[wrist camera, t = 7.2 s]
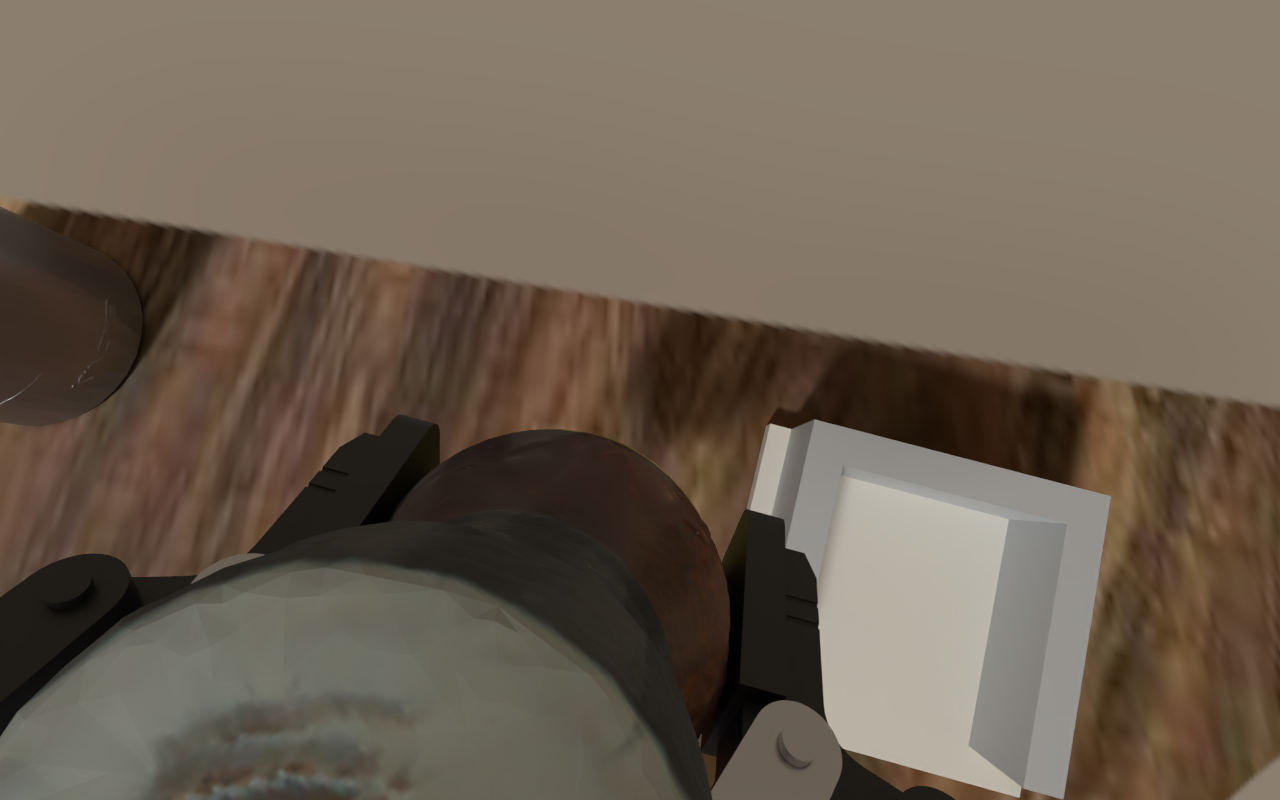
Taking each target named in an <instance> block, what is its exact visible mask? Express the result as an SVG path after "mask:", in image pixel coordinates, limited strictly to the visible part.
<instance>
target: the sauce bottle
mask: <svg viewBox="0 0 1280 800" xmlns="http://www.w3.org/2000/svg"><path fill="white" fill-rule="evenodd" d="M730 631H731V627H730V601H729V594H728V589H727V581H726V578H725V574H724V571H723V567H722V563H721V560H720V557H719V555H718V552H717V549H716V546H715V544H714V542H713V540H712V539H711V535H710V532H709V529H708V527H707V525H706V524H705V523H704V522H703V521H702V519H701V517H700V515H699V514H698V512H697V510H696V508H695V506H694V505H693V503H692V502H691V501H690V499H689V498H688V497H687V495H686V494H685V493H684V491H683V490H682V489H681V487H680V486H679V485H678V484H677V483H676V482H675V481H674V480H673V479H672V478H671V477H670V476H669V475H668V474H667V473H666V472H665V471H664V470H662V469H661V468H660V467H659V466H658V465H656V464H655V463H654V462H653V461H651V460H650V459H648V458H647V457H645V456H644V455H642V454H641V453H639V452H637V451H636V450H634V449H632V448H630V447H628V446H626V445H624V444H622V443H619V442H617V441H614V440H612V439H609V438H607V437H603V436H599V435H595V434H591V433H586V432H580V431H574V430H562V429H542V430H529V431H521V432H514V433H510V434H506V435H502V436H498V437H495V438H491V439H488V440H485V441H483V442H481V443H478V444H476V445H473V446H471V447H469V448H466V449H464V450H462V451H460V452H459V453H457V454H455V455H454V456H452V457H450V458H449V459H447V460H446V461H444V462H442V463H441V464H439V465H438V466H437V467H436V468H434V469H433V470H432V471H430V472H429V473H428V474H427V475H426V476H425V477H423V478H422V479H421V480H420V481H419V482H418V483H417V484H416V485H415V486H414V487H413V488H412V489H411V490H410V491H409V493H408V494H407V495H406V496H405V497H404V498H403V499H402V500H401V501H400V503H399V504H398V505H397V506H396V508H395V510H394V511H393V513H392V514H391V516H390V518H389V519H388V521H387V522H384V523H377V524H371V525H364V526H357V527H350V528H344V529H340V530H336V531H332V532H328V533H324V534H320V535H316V536H312V537H310V538H307V539H304V540H301V541H298V542H296V543H293V544H290V545H288V546H286V547H284V548H282V549H280V550H278V551H276V552H273V553H270V554H266V555H263V556H260V557H257V558H253V559H250V560H247V561H244V562H241V563H237V564H234V565H231V566H228V567H224V568H222V569H220V570H218V571H216V572H214V573H212V574H210V575H208V576H206V577H204V578H202V579H200V580H198V581H196V582H194V583H192V584H190V585H188V586H186V587H184V588H182V589H180V590H178V591H176V592H174V593H172V594H170V595H168V596H166V597H164V598H162V599H159V600H157V601H155V602H153V603H150V604H148V605H146V606H144V607H141V608H140V609H138V610H136V611H134V612H132V613H130V614H128V615H127V616H125V617H124V618H122V619H121V620H120V621H119V622H118V623H116V624H115V625H114V626H113V627H112V628H110V629H109V630H108V631H107V632H105V633H104V634H103V635H102V636H101V637H99V638H98V639H97V640H96V641H95V642H93V643H92V644H91V645H90V646H89V647H87V648H86V649H85V650H84V651H83V652H81V653H80V654H79V655H78V656H77V657H75V658H74V659H73V660H72V661H71V662H69V663H68V664H67V665H66V666H65V667H63V668H62V669H61V670H60V671H59V672H58V673H57V674H56V675H55V676H54V677H53V678H52V679H51V680H50V681H49V682H48V683H47V684H46V685H45V686H44V687H43V688H41V689H40V690H39V691H38V692H37V693H36V694H35V695H34V696H33V697H32V698H31V699H30V700H29V701H28V702H27V703H26V704H25V705H24V706H23V707H22V708H21V709H20V710H19V711H18V712H17V713H16V714H15V716H14V717H13V719H12V720H11V722H10V723H9V725H8V726H7V728H6V729H5V730H4V732H3V733H2V735H1V736H0V800H712V794H711V789H710V786H709V783H708V775H707V772H706V768H705V764H704V761H703V757H702V754H701V750H700V746H699V743H698V738H699V736H700V734H701V733H702V732H703V729H704V728H705V726H706V724H707V723H708V721H709V720H710V719H711V718H712V716H713V714H714V711H715V708H716V705H717V703H718V700H719V698H720V696H721V693H722V691H723V689H724V687H725V685H726V682H727V661H728V656H729V633H730Z"/></svg>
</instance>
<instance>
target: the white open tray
mask: <svg viewBox="0 0 1280 800" xmlns="http://www.w3.org/2000/svg"><path fill="white" fill-rule="evenodd" d="M1110 499H1111V496H1108V495H1104V494H1100V493H1096V492H1092V491H1088V490H1085V489H1081V488H1077V487H1073V486H1069V485H1065V484H1061V483H1058V482H1054V481H1050V480H1046V479H1042V478H1038V477H1034V476H1031V475H1027V474H1023V473H1019V472H1015V471H1011V470H1008V469H1004V468H1000V467H996V466H992V465H988V464H984V463H981V462H977V461H973V460H969V459H965V458H961V457H957V456H954V455H950V454H946V453H942V452H938V451H934V450H930V449H927V448H923V447H919V446H915V445H911V444H907V443H903V442H900V441H896V440H892V439H888V438H884V437H880V436H877V435H873V434H869V433H865V432H861V431H857V430H853V429H850V428H846V427H842V426H838V425H834V424H830V423H826V422H823V421H819V420H815V419H814V420H812V421H810V422H807V423H805V424H802V425H800V426H798V427H795V428H793V429H789V428H785V427H781V426H778V425H774V424H769V425H767V426H766V429H765V433H764V437H763V441H762V446H761V450H760V454H759V458H758V462H757V467H756V471H755V475H754V479H753V484H752V488H751V492H750V496H749V500H748V505H747V509H748V510H752V511H756V512H759V513H763V514H767V515H771V516H774V517H778V518H782V519H783V520H784V522H785V548H787V549H791V550H795V551H798V552H802V553H805V555H806V557H807V559H808V561H809V563H810V566H811V568H812V570H813V572H814V574H815V576H816V578H817V595H818V604H817V608H818V612H819V626H818V629H819V630H820V647H821V664H822V681H823V699H824V710H825V715H826V719H827V722H828V724H829V726H830V728H831V729H832V730H833V732H834V734H835V736H836V738H837V740H838V743H839V744H840V746H841V747H842V748H843V749H846V750H850V751H853V752H857V753H861V754H864V755H868V756H871V757H875V758H879V759H882V760H886V761H889V762H893V763H896V764H900V765H904V766H907V767H911V768H914V769H918V770H922V771H925V772H929V773H932V774H936V775H940V776H943V777H947V778H950V779H954V780H957V781H961V782H965V783H968V784H972V785H975V786H979V787H983V788H986V789H990V790H993V791H997V792H1001V793H1004V794H1008V795H1011V796H1015V797H1018V798H1019V797H1020V791H1021V787H1022V788H1024V789H1027V790H1031V791H1034V792H1038V793H1042V794H1045V795H1049V796H1052V797H1056V798H1060V799H1063V798H1064V792H1065V786H1066V779H1067V773H1068V766H1069V760H1070V754H1071V747H1072V741H1073V735H1074V728H1075V722H1076V715H1077V709H1078V703H1079V696H1080V690H1081V684H1082V677H1083V671H1084V665H1085V658H1086V652H1087V645H1088V639H1089V633H1090V626H1091V620H1092V614H1093V607H1094V601H1095V594H1096V588H1097V582H1098V575H1099V569H1100V563H1101V556H1102V550H1103V543H1104V537H1105V531H1106V524H1107V518H1108V512H1109V505H1110Z"/></svg>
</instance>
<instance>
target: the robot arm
mask: <svg viewBox="0 0 1280 800" xmlns="http://www.w3.org/2000/svg"><path fill="white" fill-rule="evenodd" d="M142 322H143V316H142V310H141V304H140V298H139V296H138V294H137V291H136V289H135V287H134V284H133V282H132V281H131V279H130V278H129V277H128V275H127V274H126V272H125V271H124V270H123V268H122V267H121V266H119V265H118V264H117V263H116V262H115V261H113V260H112V259H111V258H110V257H109V256H107V255H105V254H103V253H101V252H99V251H97V250H95V249H93V248H91V247H89V246H87V245H84V244H82V243H80V242H78V241H75V240H73V239H71V238H69V237H66V236H64V235H62V234H60V233H57V232H55V231H53V230H51V229H48V228H46V227H44V226H42V225H39V224H37V223H35V222H33V221H31V220H28V219H27V218H25V217H22V216H20V215H18V214H16V213H13V212H11V211H9V210H7V209H4V208H2V207H0V422H1V423H10V424H19V425H36V426H42V425H48V424H55V423H61V422H64V421H67V420H69V419H72V418H75V417H78V416H80V415H82V414H84V413H85V412H87V411H89V410H90V409H92V408H94V407H95V406H97V405H99V404H100V403H101V402H102V401H103V400H104V399H106V398H107V397H108V396H109V395H110V394H111V393H112V392H113V391H115V389H116V388H117V387H118V385H119V384H120V383H121V381H122V380H123V379H124V378H125V376H126V375H127V374H128V372H129V370H130V368H131V366H132V364H133V362H134V360H135V358H136V356H137V352H138V348H139V345H140V341H141V337H142ZM439 464H440V431H439V426H438V425H437V424H434V423H430V422H427V421H423V420H419V419H416V418H412V417H408V416H404V415H398V416H396V417H395V418H394V419H393V420H392V421H391V423H390V424H389V425H388V426H387V428H386V429H385V430H384V431H383V433H382V434H381V435H380V436H375V435H371V434H368V433H364V434H362V435H360V436H358V437H357V438H355V439H353V440H351V441H350V442H348V443H346V444H344V445H343V446H341V447H340V448H339V449H338V450H337V451H336V452H335V453H334V454H333V456H332V457H331V458H330V459H329V460H328V461H327V463H326V464H325V465H324V466H323V469H322V471H319V472H318V473H317V474H316V475H315V477H314V478H313V479H312V480H311V481H310V482H309V486H308V487H305V488H304V489H303V490H302V492H301V493H300V494H299V495H298V496H297V497H296V499H295V500H294V501H293V502H292V503H291V504H290V506H289V507H288V508H287V509H286V510H285V511H284V513H283V514H282V515H281V516H280V517H279V518H278V520H277V521H276V522H275V523H274V524H273V525H272V526H271V528H270V529H269V530H268V531H267V532H266V533H265V535H264V536H263V537H262V538H261V539H260V540H259V542H258V543H257V544H256V545H255V546H254V547H253V548H252V549H251V550H250V551H249V552H248V553H247V554H240V555H235V556H231V557H228V558H225V559H223V560H220V561H218V562H216V563H214V564H212V565H211V566H209V567H208V568H206V569H205V570H203V571H202V572H201V573H200V574H199V575H194V576H172V577H131V575H130V573H129V571H128V569H127V567H126V565H125V564H124V563H123V562H122V561H121V560H119V559H117V558H115V557H112V556H109V555H104V554H83V555H77V556H72V557H68V558H65V559H62V560H59V561H56V562H54V563H52V564H49V565H47V566H45V567H44V568H42V569H40V570H38V571H37V572H35V573H34V574H32V575H31V576H29V577H28V578H26V579H25V580H24V581H22V582H21V583H19V584H18V585H17V586H15V587H14V588H13V589H11V590H10V591H8V592H7V593H6V594H4V595H3V596H2V597H0V736H1V735H2V733H3V732H4V730H5V729H6V728H7V726H8V725H9V723H10V722H11V720H12V719H13V717H14V716H15V714H16V713H17V712H18V711H19V710H20V709H21V708H22V707H23V706H24V705H25V704H26V703H27V702H28V701H29V700H30V699H31V698H32V697H33V696H34V695H35V694H36V693H37V692H38V691H39V690H40V689H41V688H43V687H44V686H45V685H46V684H47V683H48V682H49V681H50V680H51V679H52V678H53V677H54V676H55V675H56V674H57V673H58V672H59V671H60V670H61V669H62V668H63V667H65V666H66V665H67V664H68V663H69V662H71V661H72V660H73V659H74V658H75V657H77V656H78V655H79V654H80V653H81V652H83V651H84V650H85V649H86V648H87V647H89V646H90V645H91V644H92V643H93V642H95V641H96V640H97V639H98V638H99V637H101V636H102V635H103V634H104V633H105V632H107V631H108V630H109V629H110V628H112V627H113V626H114V625H115V624H116V623H118V622H119V621H120V620H121V619H122V618H124V617H125V616H127V615H128V614H130V613H132V612H134V611H136V610H138V609H140V608H141V607H144V606H146V605H148V604H150V603H153V602H155V601H157V600H159V599H162V598H164V597H166V596H168V595H170V594H172V593H174V592H176V591H178V590H180V589H182V588H184V587H186V586H188V585H190V584H192V583H194V582H196V581H198V580H200V579H202V578H204V577H206V576H208V575H210V574H212V573H214V572H216V571H218V570H220V569H222V568H224V567H228V566H231V565H234V564H237V563H241V562H244V561H247V560H250V559H253V558H257V557H260V556H263V555H266V554H270V553H273V552H276V551H278V550H280V549H282V548H284V547H286V546H288V545H290V544H293V543H296V542H298V541H301V540H304V539H307V538H310V537H312V536H316V535H320V534H324V533H328V532H332V531H336V530H340V529H344V528H350V527H357V526H364V525H371V524H377V523H384V522H387V521H388V519H389V518H390V516H391V514H392V513H393V511H394V510H395V508H396V506H397V505H398V504H399V503H400V501H401V500H402V499H403V498H404V497H405V496H406V495H407V494H408V493H409V491H410V490H411V489H412V488H413V487H414V486H415V485H416V484H417V483H418V482H419V481H420V480H421V479H422V478H423V477H425V476H426V475H427V474H428V473H429V472H430V471H432V470H433V469H434V468H436V467H437V466H438V465H439ZM722 567H723V571H724V574H725V578H726V581H727V589H728V594H729V601H730V627H731V631H730V633H729V656H728V661H727V682H726V685H725V687H724V689H723V691H722V693H721V696H720V698H719V700H718V703H717V705H716V708H715V711H714V714H713V716H712V718H711V719H710V720H709V721H708V723H707V724H706V726H705V728H704V729H703V732H702V741H701V753H704V754H708V755H711V756H715V757H717V762H716V775H715V782H714V784H713V785H712V787H711V794H712V800H955V799H953V798H952V797H951V796H949V795H948V794H946V793H944V792H942V791H940V790H938V789H935V788H932V787H927V786H916V787H912V788H909V789H907V790H906V791H904V792H901V791H900V790H898V789H897V788H895V787H894V786H892V785H890V784H889V783H887V782H886V781H884V780H883V779H881V778H880V777H878V776H876V775H875V774H873V773H872V772H870V771H869V770H867V769H866V768H864V767H863V766H861V765H860V764H858V763H857V762H856V761H855V760H854V759H852V758H851V757H850V756H849V755H848V754H847V753H846V752H845V750H844V749H843V748H842V747H841V746H840V744H839V743H838V740H837V738H836V736H835V734H834V732H833V730H832V729H831V728H830V726H829V724H828V722H827V719H826V715H825V710H824V699H823V681H822V664H821V647H820V630H819V629H818V626H819V612H818V608H817V604H818V595H817V578H816V576H815V574H814V572H813V570H812V568H811V566H810V563H809V561H808V559H807V557H806V555H805V553H802V552H798V551H795V550H791V549H787V548H785V522H784V520H783V519H782V518H778V517H774V516H771V515H767V514H763V513H759V512H756V511H752V510H748V509H746V510H745V511H744V512H743V514H742V517H741V519H740V521H739V523H738V526H737V528H736V530H735V533H734V535H733V537H732V540H731V542H730V544H729V546H728V549H727V551H726V553H725V556H724V558H723V561H722Z"/></svg>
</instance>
